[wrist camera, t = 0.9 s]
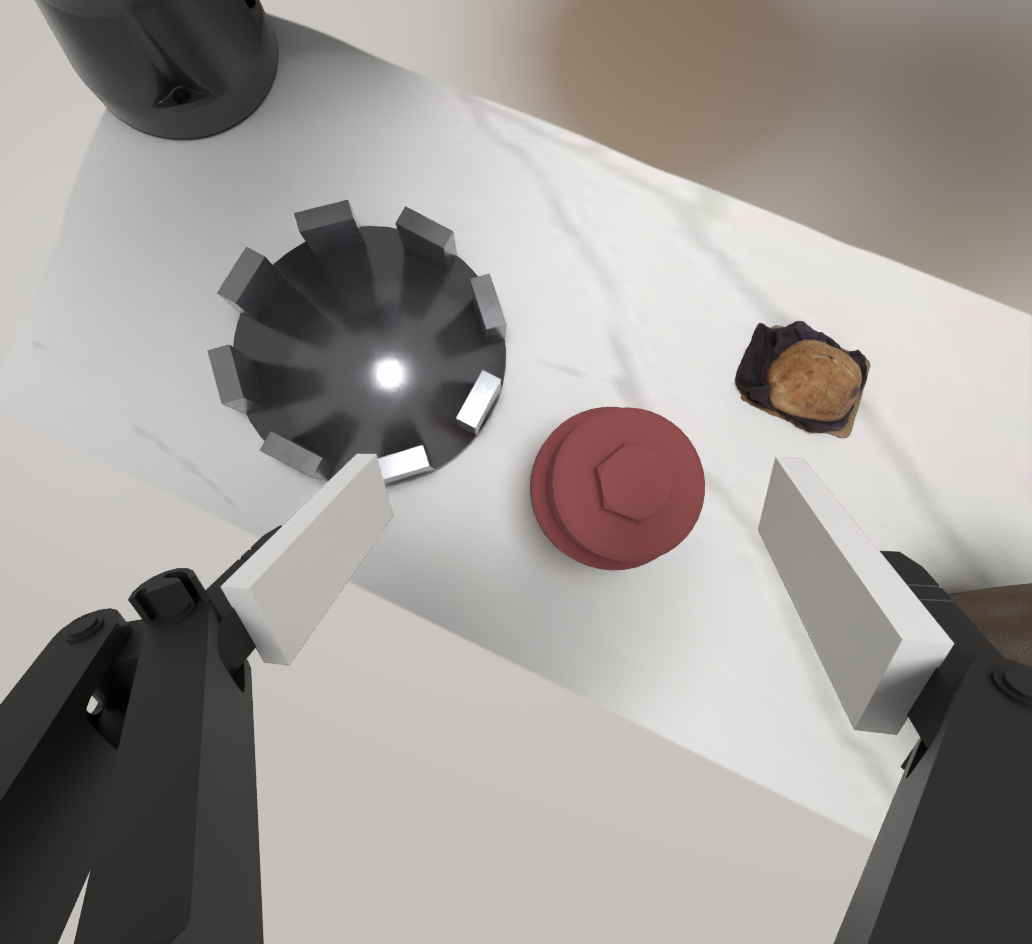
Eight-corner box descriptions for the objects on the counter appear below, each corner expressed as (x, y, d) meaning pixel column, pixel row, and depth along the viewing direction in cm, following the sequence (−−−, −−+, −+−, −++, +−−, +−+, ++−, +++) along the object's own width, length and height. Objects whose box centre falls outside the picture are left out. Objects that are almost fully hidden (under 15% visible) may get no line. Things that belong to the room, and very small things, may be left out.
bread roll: (866, 360, 38) (907, 343, 34) (839, 449, 37) (878, 442, 33) (753, 313, 37) (782, 291, 34) (723, 402, 36) (749, 389, 33)
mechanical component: (658, 545, 34) (534, 567, 34) (634, 422, 35) (512, 441, 35) (749, 562, 22) (558, 597, 21) (709, 373, 23) (524, 401, 22)
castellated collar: (323, 187, 36) (304, 150, 32) (549, 305, 36) (556, 282, 32) (184, 408, 33) (147, 395, 30) (427, 534, 34) (419, 536, 30)
